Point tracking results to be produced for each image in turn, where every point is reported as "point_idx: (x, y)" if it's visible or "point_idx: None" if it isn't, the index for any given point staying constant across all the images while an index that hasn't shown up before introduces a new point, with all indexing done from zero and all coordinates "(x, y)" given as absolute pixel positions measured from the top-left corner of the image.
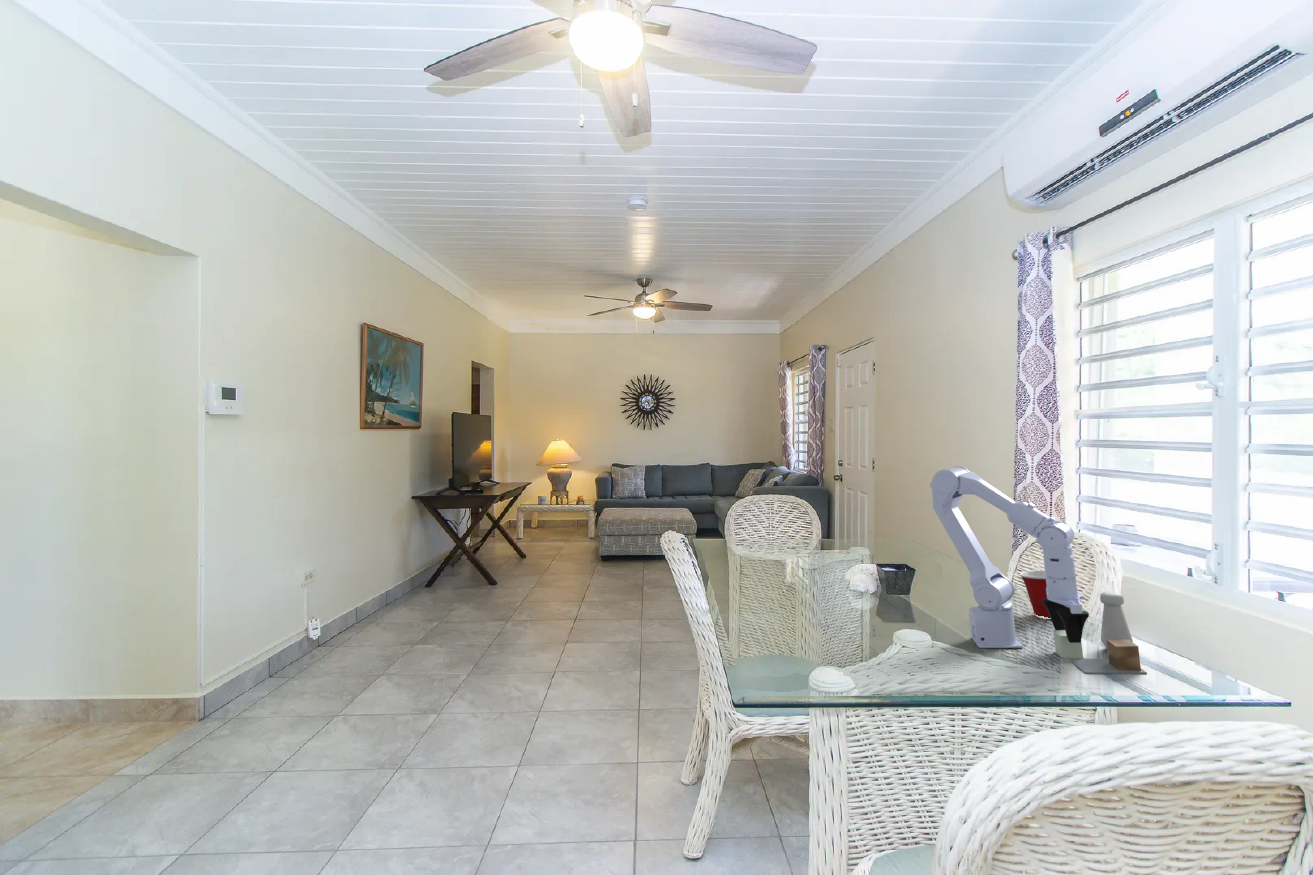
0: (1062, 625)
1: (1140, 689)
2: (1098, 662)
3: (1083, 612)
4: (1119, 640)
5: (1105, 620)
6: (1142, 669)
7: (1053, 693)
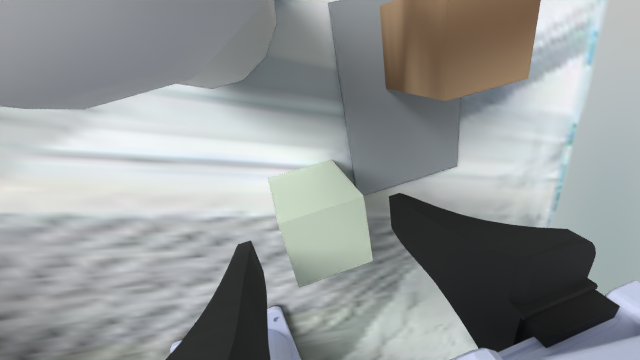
0: (254, 270)
1: (559, 42)
2: (381, 121)
3: (566, 269)
4: (457, 38)
5: (225, 59)
6: None
7: (542, 223)
